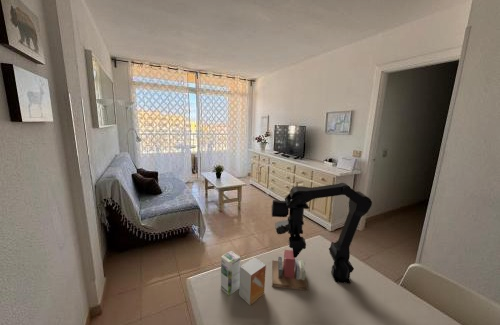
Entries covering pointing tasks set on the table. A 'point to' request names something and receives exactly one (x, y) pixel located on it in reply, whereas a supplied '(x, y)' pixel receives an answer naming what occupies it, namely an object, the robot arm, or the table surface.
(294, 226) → the robot arm
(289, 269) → the red flat-faced block
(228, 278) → the syrup box
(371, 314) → the table surface
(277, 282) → the shelf
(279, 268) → the bookend
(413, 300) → the table surface
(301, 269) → the shelved books
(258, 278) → the small box
